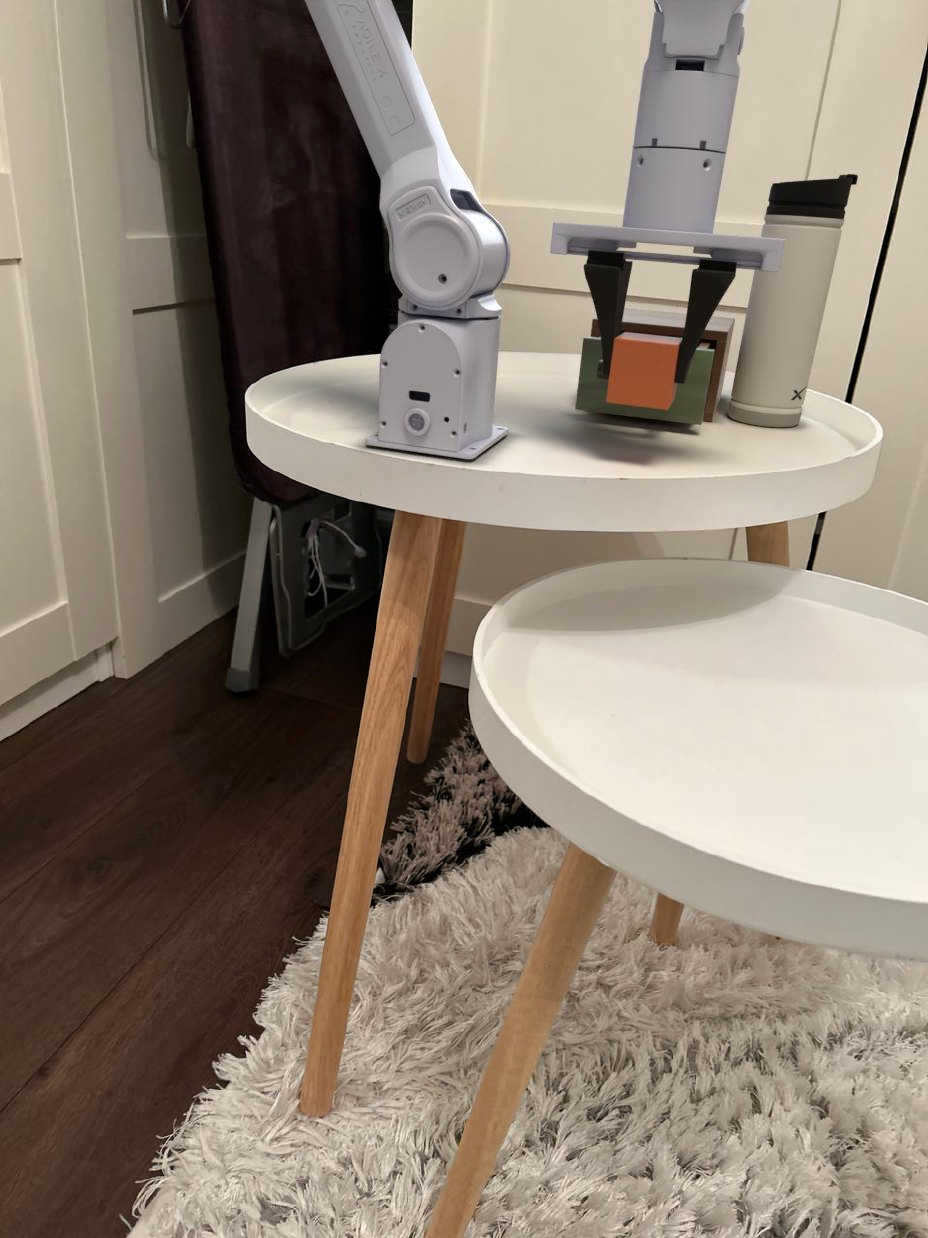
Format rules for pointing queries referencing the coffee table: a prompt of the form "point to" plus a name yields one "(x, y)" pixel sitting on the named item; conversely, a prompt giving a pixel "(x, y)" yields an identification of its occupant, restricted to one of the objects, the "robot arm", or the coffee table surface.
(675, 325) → the cabinet
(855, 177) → the travel mug
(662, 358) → the block
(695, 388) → the drawer
